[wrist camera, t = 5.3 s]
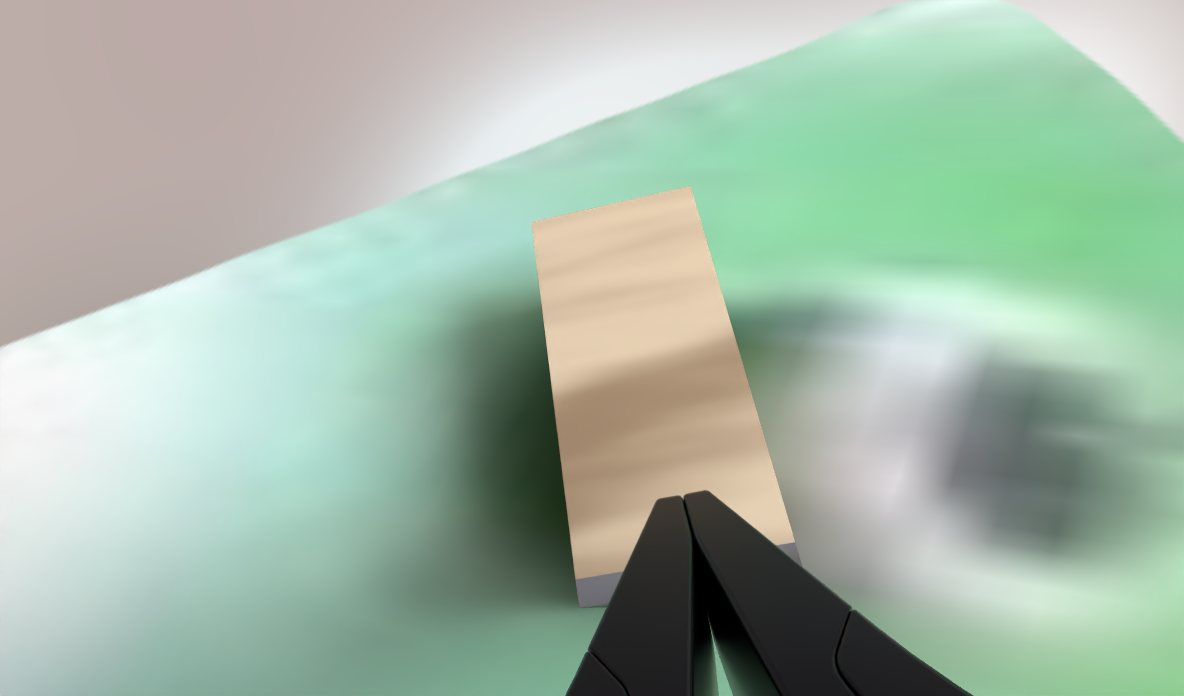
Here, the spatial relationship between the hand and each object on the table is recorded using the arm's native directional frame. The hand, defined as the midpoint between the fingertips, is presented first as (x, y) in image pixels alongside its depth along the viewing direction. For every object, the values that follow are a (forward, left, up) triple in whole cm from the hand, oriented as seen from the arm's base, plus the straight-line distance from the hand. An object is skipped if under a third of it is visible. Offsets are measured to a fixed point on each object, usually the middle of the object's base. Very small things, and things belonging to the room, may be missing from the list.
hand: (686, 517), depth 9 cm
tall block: (-1, 0, -7) cm, 7 cm away
